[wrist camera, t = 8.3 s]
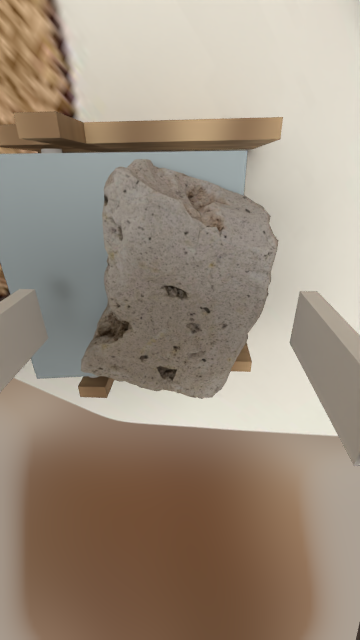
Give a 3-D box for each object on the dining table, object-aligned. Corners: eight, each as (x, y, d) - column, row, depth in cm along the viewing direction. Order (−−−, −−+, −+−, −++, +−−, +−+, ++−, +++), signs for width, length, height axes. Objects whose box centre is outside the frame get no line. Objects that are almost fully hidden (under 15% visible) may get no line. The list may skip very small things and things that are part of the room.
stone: (94, 374, 20) (231, 371, 21) (75, 435, 15) (259, 426, 16) (76, 164, 15) (255, 174, 16) (39, 143, 10) (308, 160, 11)
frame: (86, 318, 32) (28, 395, 21) (52, 139, 24) (-70, 115, 13) (237, 320, 31) (258, 402, 20) (254, 134, 23) (304, 104, 12)
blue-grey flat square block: (57, 337, 26) (31, 381, 21) (11, 155, 19) (-47, 150, 14) (215, 331, 27) (229, 371, 21) (224, 152, 20) (247, 146, 14)
